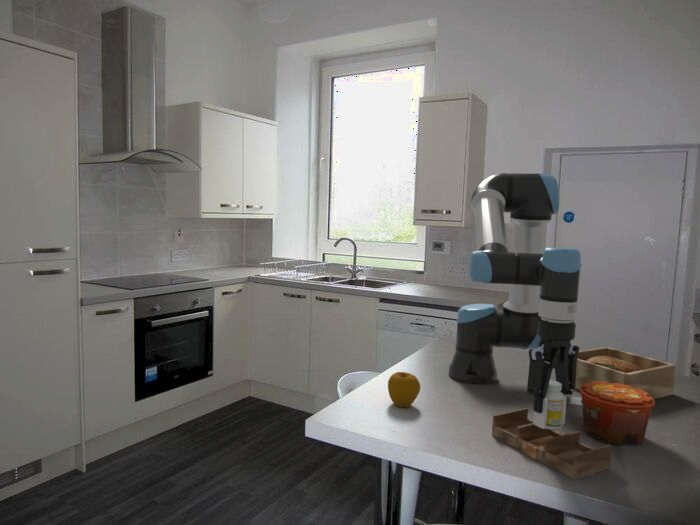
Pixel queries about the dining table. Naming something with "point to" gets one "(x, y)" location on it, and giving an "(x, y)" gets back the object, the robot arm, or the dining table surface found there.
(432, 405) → the dining table surface
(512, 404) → the dining table surface
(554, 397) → the supplement bottle
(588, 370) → the bread crate
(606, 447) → the rack
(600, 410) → the food container
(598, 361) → the bread
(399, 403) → the apple
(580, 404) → the bracket
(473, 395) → the dining table surface
